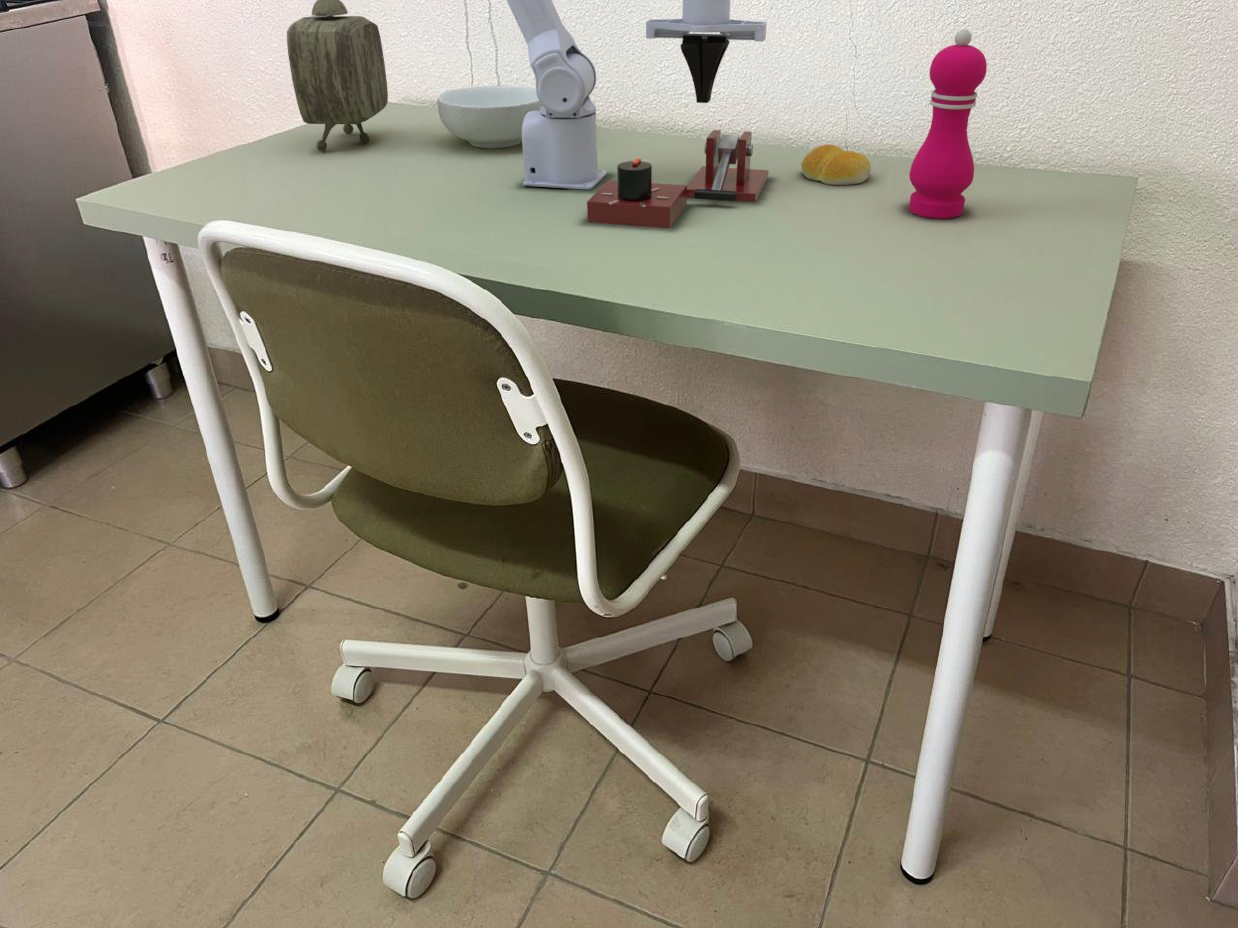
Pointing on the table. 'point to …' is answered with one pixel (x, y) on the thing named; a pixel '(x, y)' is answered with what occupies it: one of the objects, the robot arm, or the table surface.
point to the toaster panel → (638, 206)
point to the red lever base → (730, 170)
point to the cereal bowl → (487, 113)
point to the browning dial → (634, 180)
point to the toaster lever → (722, 170)
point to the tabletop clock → (337, 69)
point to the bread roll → (835, 166)
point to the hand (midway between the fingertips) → (703, 101)
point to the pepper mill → (948, 132)
